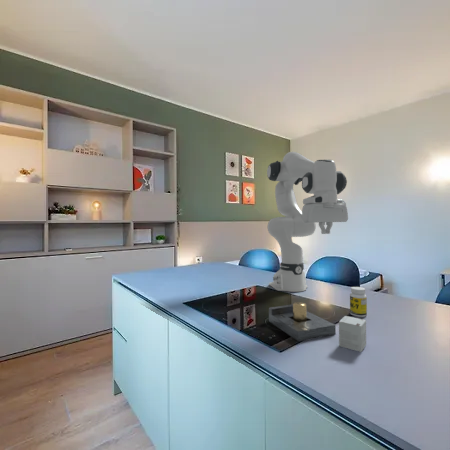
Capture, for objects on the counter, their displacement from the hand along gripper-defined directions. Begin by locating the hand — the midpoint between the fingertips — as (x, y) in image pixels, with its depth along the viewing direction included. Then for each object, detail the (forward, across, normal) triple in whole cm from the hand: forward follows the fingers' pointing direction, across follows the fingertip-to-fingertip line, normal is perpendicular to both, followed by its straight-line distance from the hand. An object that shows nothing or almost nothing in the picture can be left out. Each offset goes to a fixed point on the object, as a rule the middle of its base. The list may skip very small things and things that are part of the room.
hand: (325, 233), depth 108 cm
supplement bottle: (+31, -8, +8) cm, 33 cm away
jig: (+31, +20, +10) cm, 38 cm away
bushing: (+31, +20, +10) cm, 38 cm away
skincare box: (+31, +14, +27) cm, 44 cm away
